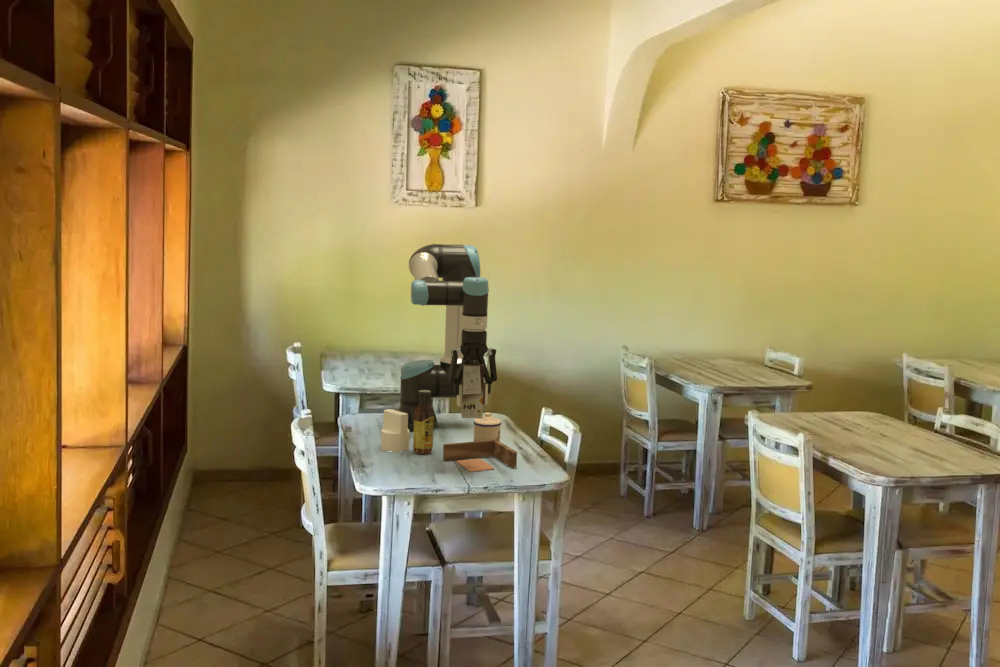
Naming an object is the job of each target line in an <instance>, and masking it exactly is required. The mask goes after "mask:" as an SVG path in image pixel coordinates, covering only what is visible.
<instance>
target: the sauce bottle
mask: <svg viewBox="0 0 1000 667" xmlns="http://www.w3.org/2000/svg"><path fill="white" fill-rule="evenodd" d="M418 395H419V403H418V404H419V405H418V407H417V408H416V410H415V418H414V431H413V434H412V435H413V439H412V442H413V443H412V447H413V453H415V454H417V453H418V454H420V455H427V454H431V453H432V451H433V445H434V429H433V425H434V415H433V411H432V408H431V405H430V404H431V403H430V397H431V391H429V390H420V391H419V393H418Z"/></svg>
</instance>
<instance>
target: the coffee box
mask: <svg viewBox="0 0 1000 667" xmlns="http://www.w3.org/2000/svg"><path fill="white" fill-rule="evenodd" d="M484 381H485V379H484V364H483V363H482V364H481V363H480V362H478V361H475V360H474V361H470V362H469V364H463V377H462V406H461V407H460V413H461V419H477V418H480V419H481V418H482V416H484V414H483V412H484V404H483V390H484Z"/></svg>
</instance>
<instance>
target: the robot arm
mask: <svg viewBox="0 0 1000 667" xmlns="http://www.w3.org/2000/svg"><path fill="white" fill-rule="evenodd" d="M408 269H409V272H410V274H411V276H412V277H413V281H411V282H410V283H411V284H410V301H411V303H412V305H415V306H417V305H418V306H445V330H444V334H445V335H444V336H445V337H444V354H443V356H442V357H441V358H440V360H439V364H435V362H434V360H431V359H421V360H413V361H408V362H406V363H404V364H403V365H401V368H400V376H399V379H400V390H399V391H400V393H399V394H400V395H399V406H398V409H397V411H400V412H403V413H407V414H408V429H409V432H414V418H415V410H416V408H417V407H418V405H419V404H418V403H419V395H418V393H419V391H420V390H429V391H431V397H430V403H431V404H430V405H431V408H432V411H433V415H434V425H433V430H435V429H436V428H437V427H438V418H437V414H436V410H435V408H434V398H454V399H456V406H458V407H460V408H461V406H462V377H463V364H469V362H470V361H474V360H475V361H478V362H480V363H481V364H482V363H483V364H484V381H485V382H484V390H483V406H488V399H489V398H488V396H489V395H491V391H492V384H493V382H497V381H498V375H497V374H498V372H497V365H496V364H497V363H496V354H497V349H495V348H493V347H488V345H487V338H488V337H487V336H488V331H487V329H488V305H489V292H490V289H489V279H487V278H486V277H481V261H480V255H479V251H478V248H477V247H476V246H474V245H469V244H445V243H444V244H442V243H441V244H438V243H432V244H427V245H425V246H422V247H420V248H418V249H417V250H416V251H415V252H413V253H412V254H411V256H410V258H409V260H408ZM440 279H442V280H440ZM486 353H487V356H488V363H489V364H488V365H489V370H488V367H487V364H486V360H485V358H484V357H485V355H486Z"/></svg>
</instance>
